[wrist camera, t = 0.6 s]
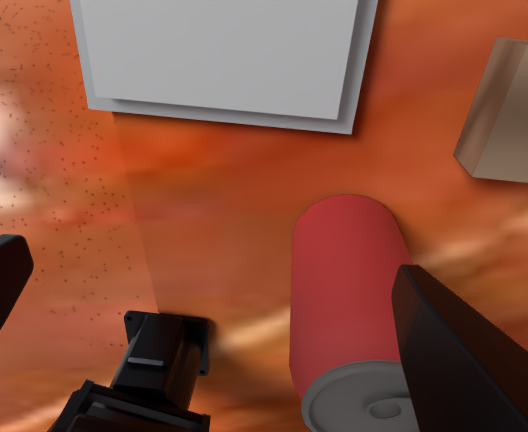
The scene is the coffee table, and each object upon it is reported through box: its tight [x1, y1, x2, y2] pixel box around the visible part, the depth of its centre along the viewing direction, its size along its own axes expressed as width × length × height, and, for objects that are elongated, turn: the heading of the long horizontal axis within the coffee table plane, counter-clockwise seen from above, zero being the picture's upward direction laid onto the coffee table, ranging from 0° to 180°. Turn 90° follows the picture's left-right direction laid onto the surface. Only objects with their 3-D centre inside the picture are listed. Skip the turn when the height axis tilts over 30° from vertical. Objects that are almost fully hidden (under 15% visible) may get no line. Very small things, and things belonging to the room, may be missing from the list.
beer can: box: [289, 194, 420, 432], centre depth 19 cm, size 7×7×12 cm
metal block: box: [453, 37, 528, 183], centre depth 18 cm, size 6×4×3 cm, turn 175°
